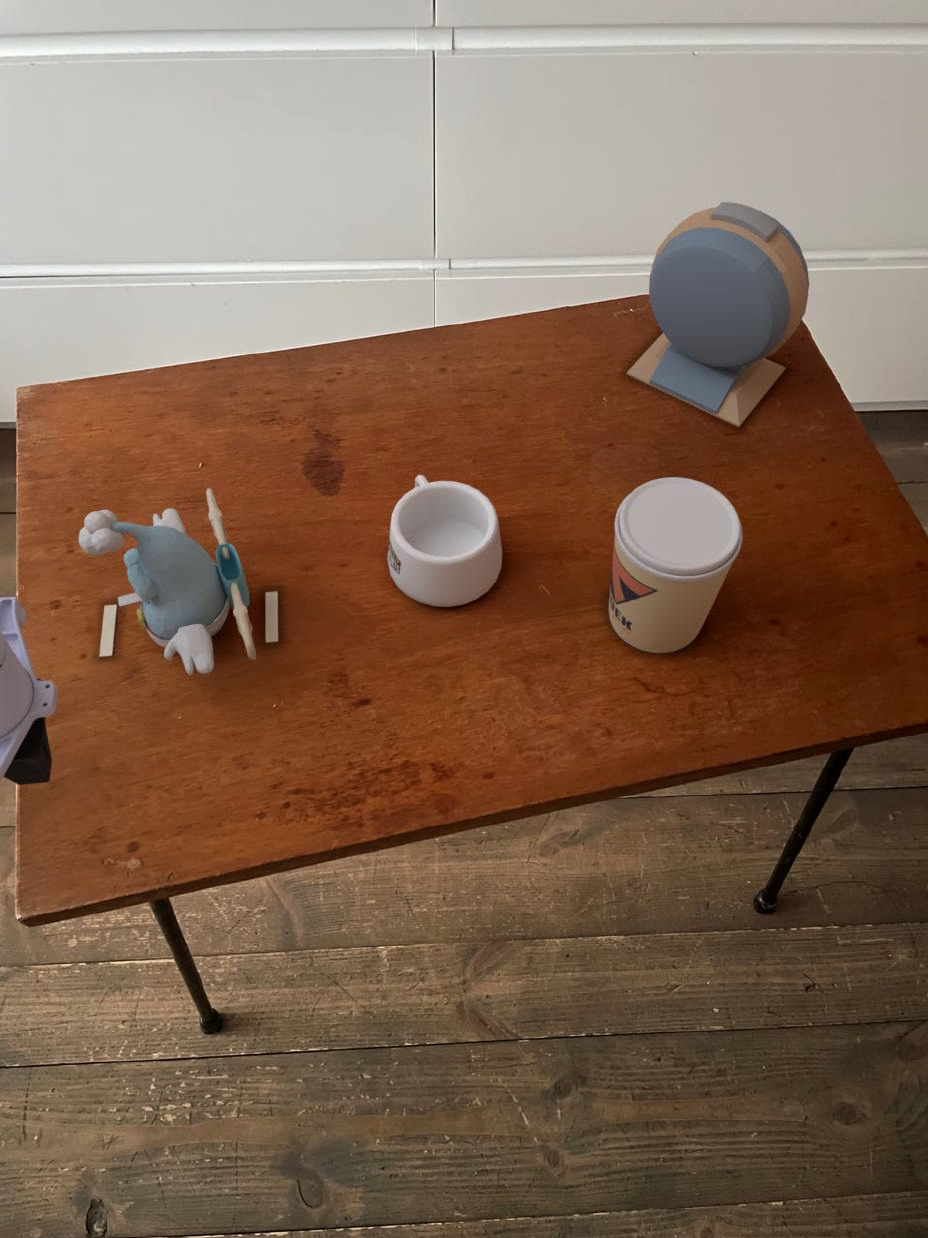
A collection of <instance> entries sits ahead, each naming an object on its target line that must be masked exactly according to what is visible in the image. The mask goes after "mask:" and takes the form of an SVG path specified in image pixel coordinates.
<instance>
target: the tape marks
mask: <svg viewBox="0 0 928 1238" xmlns="http://www.w3.org/2000/svg"><path fill="white" fill-rule="evenodd" d="M278 594H279V591H267V592H266V591H265V643H266V644H269V643H278V642H279V595H278ZM117 610H118V604H107V605H104V608H103V616H102V626H101V637H100V645H99V646H100V647H99V655H98V657H99V658H104V657H106V658H107V657H113V654H114V653H113V652H114V643H115V642H114V641H115V631H116V623H117V622H116V621H117V620H116V619H117Z"/></svg>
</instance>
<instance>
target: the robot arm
mask: <svg viewBox="0 0 928 1238" xmlns="http://www.w3.org/2000/svg"><path fill="white" fill-rule="evenodd" d="M26 619H27V612H26V611H25V610H24V608H23V606H22V605H21V603H20V601H19V599H18V597H17V596H7V597H0V783H1V782H2V780H3V779H4V778H5V779H7V780H9V781H11V782H13V783H15V784H16V785H19V786H21V785H22V786H23V785H32V784H43V783H49V782H50V781H51V774H52V773H51V772H52V764H53V759H52V758H53V757H52V753H51V747H50V742H49V736H48V732H47V725H46V723H47V722H46V718H48V717H50V716H52V715H53V714H54V713H55V712H56V710H57V709H56V708H57V701H58V695H59V690H58V687H57V686H56V684H55V682H54V681H52V680H48V679H47V680H42V679H41V678H37V676H36V672H35V669H34V665H33V662H32V659H31V656H30V653H29V650H28V647H27V643H26V639H25V637H24V633H23V630H22V628H24V627H25V625H26V621H27V620H26Z"/></svg>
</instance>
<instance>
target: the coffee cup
mask: <svg viewBox="0 0 928 1238" xmlns="http://www.w3.org/2000/svg"><path fill="white" fill-rule="evenodd" d="M742 543H743V526H742V524H741V520H740V518H739V515H738V512H737V511H736V509H735V507H734V506H733V504H732V503H731V502H730V501H729V500H728V498H727V497H726V496H725V495H724V494H722V493H721V492H720V491H718V490H717V489H715V488H714V487H712V486H710V485H708V484H706V483H704V482H701V481H698V480H695V479H692V478H685V477H677V476H676V477H675V476H674V477H673V476H672V477H662V478H657V479H652V480H650V481H647V482H645V483H643V484H641V485H639V486H637V487H636V488H635V489H634V490H632V491H631V492H630V493H629V494H628V495H626V497H625V498H624V499H623V500H622V501H621V503H620V505H619V507H618V509H617V511H616V514H615V518H614V541H613V551H612V560H611V561H612V562H611V573H610V585H609V597H608V615H609V616H608V617H609V620H610V623H611V626H612V628H613V629H614V631H615V632H616V634H617V635H618V636H619V637H620V638H621V639H622V640H623V641H624V642H625V643H627V644H628V645H630V646H632V647H633V648H635V649H637V650H640V651H643V652H647V653H652V654H667V653H673V652H676V651H679V650H681V649H683V648H685V647H686V646H688V645H689V644H691V643H692V642H693V641H694V640H695V639H696V637H697V636H698V634H699V633H700V631H701V629H702V627H703V626H704V624H705V621H706V619H707V617H708V615H709V614H710V611H711V609H712V607H713V605H714V603H715V601H716V599H717V597H718V594H719V592H720V590H721V588H722V586H723V584H724V581H725V579H726V578H727V575H728V573H729V572H730V569H731V566H732V564H733V563H734V561H735V560H736V558H737V557H738V555H739V553H740V550H741V547H742Z"/></svg>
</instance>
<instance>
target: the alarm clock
mask: <svg viewBox="0 0 928 1238" xmlns="http://www.w3.org/2000/svg"><path fill="white" fill-rule="evenodd" d="M648 283H649V284H648V296H649V297H648V298H649V303H650V307H651V311H652V315H653V317H654V319H655V321H656V324H657V325H658V328H659V329H660V331H661V332H662V333H661V334H660V336H659V337H658V338H656V340H655V341H654V342H653V343H652V344H651V345H650V346H649V347H648V348H647V350H646V351H645V352H644V353H643V354H642V355H641V356H640V357H639V358H638V359H637V361H636V362H635V363H634V364H633V365H632V366H631V367H630V368H629V370H628V371H627V372H626V375H627V376H630V377H631V378H633V379H636V380H637V381H640V382H641V383H644V384H646V385H648V386H650V387H651V388H652V387H653V388H654V389H656V390H658V391H661V392H663V393H665V394H667V395H670V396H672V397H673V398H675V399H678V400H680V401H682V402H684V403H686V404H688V405H691V406H693V407H695V408H696V409H699V410H701V411H703V412H706V413H708V414H709V415H712V416H713V417H716V418H718V419H719V420H722V421H724V422H726V423H728V424H730V425H733V426H735V427H737V428H740V426H742V424H743V423H744V422H745V420H747V418H748V417H749V416H750V415H751V413H752V412H753V411H754V409H755V408H756V406H757V405H758V404H759V403H760V402H761V400H762V399H763V398H764V396H765V395H766V394H767V393H768V392H769V390H770V389H771V388H772V386H774V384H775V383H776V381H777V380H778V379H779V377H781V375H782V374H783V373H784V371H785V370H786V367H785V366H783V365H781V364H779V363H777V362H774V361H772V360H770V359H767V357H770V356H772V355H773V354H775V353H776V352H777V351H779V350H780V349H781V347H783V346H784V345H785V344H786V343H787V342H788V340H789V339H790V338H791V337H792V335H793V334H794V333H795V331H796V330H798V328H799V325H800V324H801V322H802V320H803V319H804V316H805V315H806V310H807V306H808V305H807V304H808V300H809V299H808V298H809V290H810V277H809V269H808V265H807V262H806V259H805V257H804V254H803V251H802V248H801V245H800V244H799V243H798V242H797V240H796V238H795V237H794V236H793V234H792V232H791V231H790V230H789V229H788V228H786V227H785V226H784V225H783V224H782V223H781V222H779V221H778V220H777V219H776V218H774V217H773V216H771V215H769V214H767V213H765V212H763V211H761V210H758V209H756V208H754V207H752V206H749V205H748V206H747V205H745V204H741V203H736V202H729V201H728V202H727V201H723V202H720V203H719V204H718V206H716V207H710V208H706V209H703V210H700V211H697V212H694V213H692V214H691V215H689V216H688V217H687V218H685V219H684V220H682V221H681V222H679V224H677V226H676V227H675V228H673V229H672V230H671V232H669V234H668V235H666V237H665V239H664V240H663V241H662V243H660V245H659V247H658V248H657V249H656V252H655V256H654V259H653V262H652V264H651V271H650V274H649V282H648Z"/></svg>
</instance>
